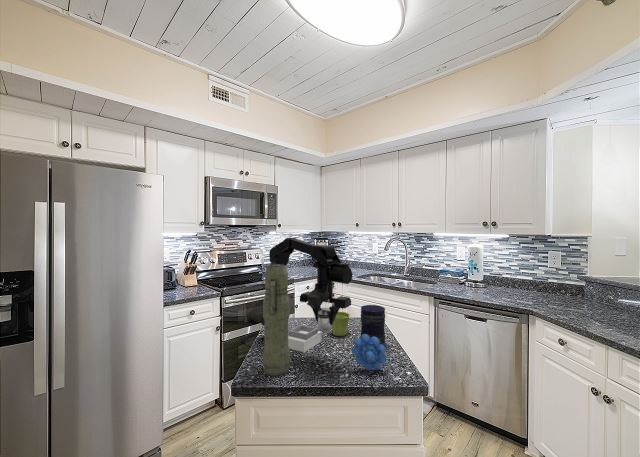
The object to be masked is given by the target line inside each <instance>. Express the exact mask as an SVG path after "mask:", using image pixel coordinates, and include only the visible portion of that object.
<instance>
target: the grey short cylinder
mask: <svg viewBox="0 0 640 457" xmlns="http://www.w3.org/2000/svg"><path fill="white" fill-rule="evenodd" d="M330 312H331V311H330V309H329V307H321V308H319V309H318V312H317V317H318V322H317V328H318V331H321V332H330V331H331V330H332V325H330Z"/></svg>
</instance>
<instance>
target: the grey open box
mask: <svg viewBox="0 0 640 457" xmlns="http://www.w3.org/2000/svg"><path fill="white" fill-rule="evenodd" d="M321 342H322V331H320V330H318V327H314V326H308V325H303V324H299V325H297V326H296V327H293V328H292V329H289V330H288V346H289V350H293V351H296V352H301V353H306V352H308V351H309V350H310V349H312V348H313V347H315V346H316V345H318V344H319V343H321Z"/></svg>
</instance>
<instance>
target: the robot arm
mask: <svg viewBox="0 0 640 457" xmlns="http://www.w3.org/2000/svg"><path fill="white" fill-rule="evenodd" d="M295 251H297V252H300V253H304V254H306V255H309V256H310V257H311V259H313V260H315V261H316V262H315V263H314V264H312V267H313V268H317V269H316V270H317V271H316V273H317V274H316V281H317V282H316V283H315V284H314V289H312V290H311V291H305V292H302V293H301V294H300V295H299V302H301V303H306V305H307V306H309V307H310V308H311V309H312V311H313V315H314V318H315V321H316V322H317V323H318V317H317V312H318V309H319V308H322V307H321V305H322V304H323V303H327V304H328V303H329V304H331V306H329V307H328V308H329V309H330V311H331V312H330V325H332V324H333V322H334V320H335V317H336V315H337V313H338V312H340V309H343V310H344V309H346V308H348V307H351V306H352V300H351V298H350V297H349V296H342V295H341V296H339V297H335V293H334V291H333V290H334V286H335V283H340V284H345V285H349V284H350V283H351V282H352V280H353V276H354V275H353V271H352V269H351V268H350V264H349V263H342V261H341V259H340V258H339V256H338V254H337V252H336V249H335V247H334V246H333V245H330V244H329V245H325V244H314V243H311V242H308V241H305V240H302V239H298V238H296V237H285V239H283V241H281V242H279V243H277V244H276V245H274V246H273V247H272V248H270V249H269V253H268V254H269V262H270V264H283V265H285V266H286V267H287V265H288V263H289V261H290V257H291V255H292V253H294V252H295ZM260 323H261V325H262V326H264V327H265V320H264V318H263V316H262V317H261V319H260ZM261 338H262V339H263V340H265V335H264V336H261Z"/></svg>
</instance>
